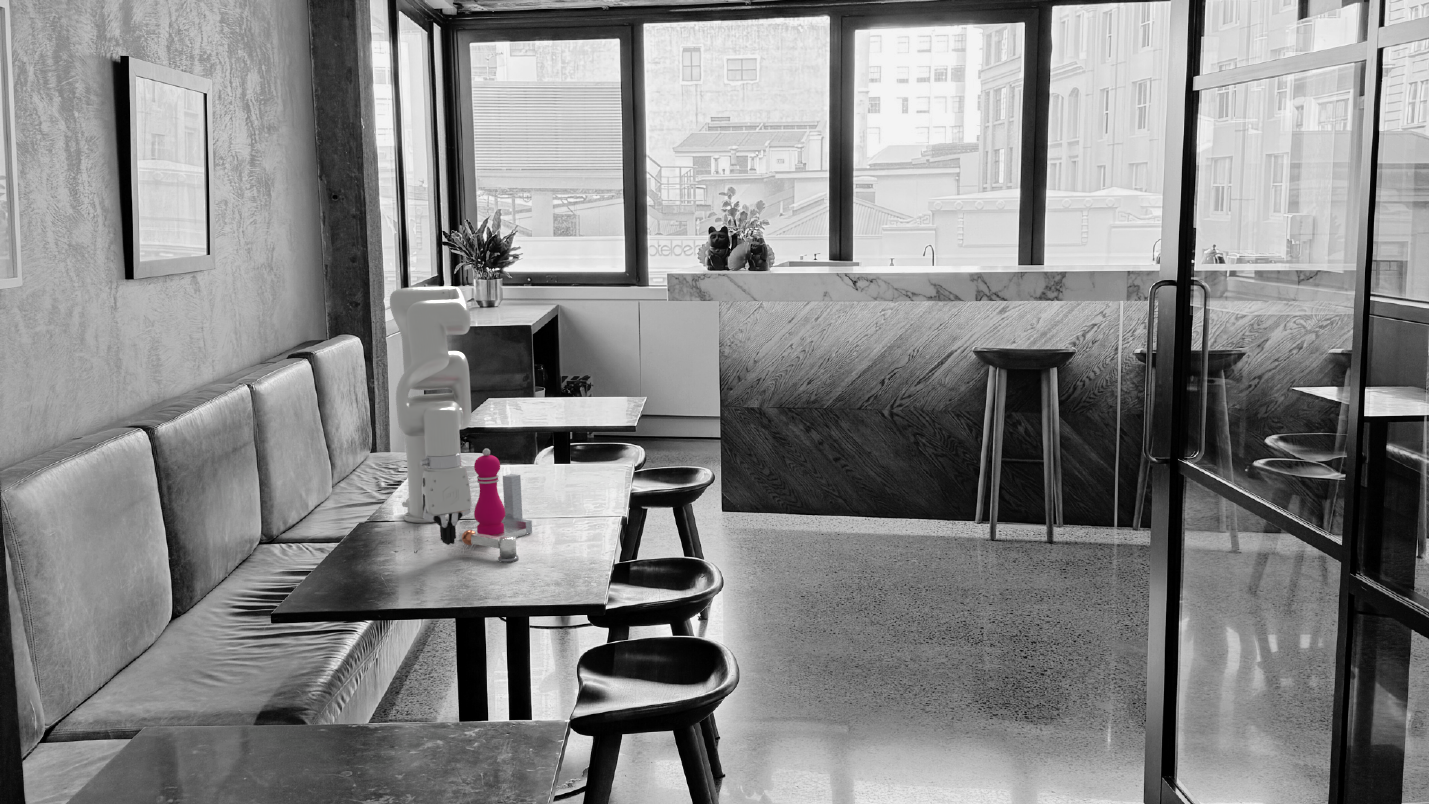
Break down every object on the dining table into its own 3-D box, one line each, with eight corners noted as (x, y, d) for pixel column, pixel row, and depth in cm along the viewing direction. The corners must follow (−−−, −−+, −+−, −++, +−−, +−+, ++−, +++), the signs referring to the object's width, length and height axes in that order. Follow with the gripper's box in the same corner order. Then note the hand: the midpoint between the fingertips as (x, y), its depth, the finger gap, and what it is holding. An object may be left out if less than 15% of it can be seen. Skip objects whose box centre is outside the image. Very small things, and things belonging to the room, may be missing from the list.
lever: (519, 555, 258) (519, 535, 257) (508, 558, 255) (507, 539, 254) (470, 546, 267) (469, 527, 266) (458, 549, 264) (457, 531, 263)
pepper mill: (499, 536, 272) (495, 451, 270) (470, 535, 274) (465, 451, 271) (510, 528, 279) (506, 446, 277) (481, 528, 281) (477, 445, 278)
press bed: (428, 548, 269) (424, 492, 267) (508, 524, 290) (505, 473, 288) (508, 563, 254) (505, 504, 253) (586, 537, 275) (584, 483, 273)
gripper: (417, 468, 251) (422, 552, 254) (482, 459, 260) (486, 540, 262) (404, 464, 257) (410, 545, 260) (468, 455, 266) (473, 534, 268)
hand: (448, 542), depth 261 cm, fingers closed
